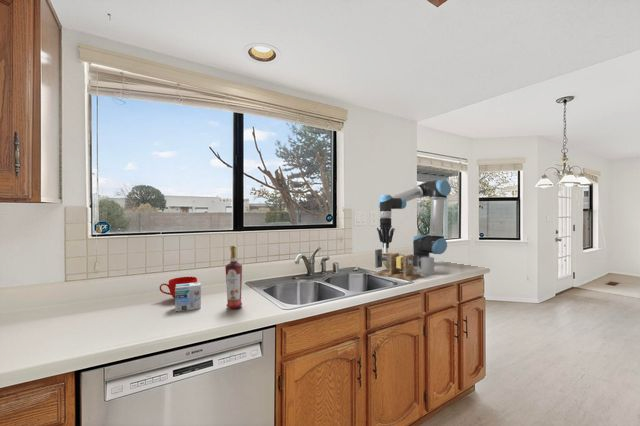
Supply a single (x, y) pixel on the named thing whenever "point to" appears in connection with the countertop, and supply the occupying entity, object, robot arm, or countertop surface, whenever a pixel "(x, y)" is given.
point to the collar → (399, 262)
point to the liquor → (233, 280)
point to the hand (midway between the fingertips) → (385, 252)
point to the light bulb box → (187, 296)
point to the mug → (426, 265)
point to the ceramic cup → (177, 281)
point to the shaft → (384, 259)
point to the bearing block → (395, 272)
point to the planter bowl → (388, 261)
